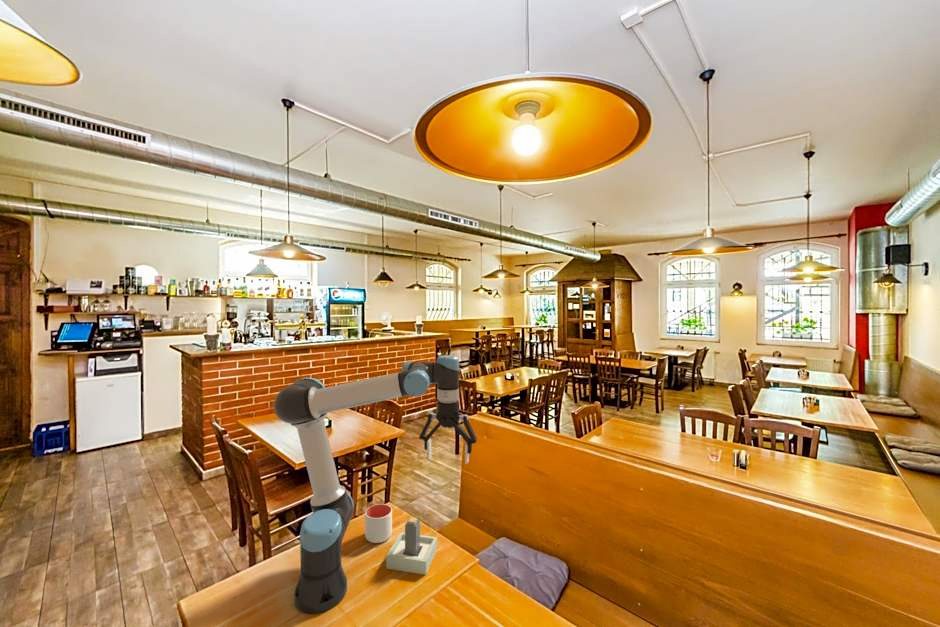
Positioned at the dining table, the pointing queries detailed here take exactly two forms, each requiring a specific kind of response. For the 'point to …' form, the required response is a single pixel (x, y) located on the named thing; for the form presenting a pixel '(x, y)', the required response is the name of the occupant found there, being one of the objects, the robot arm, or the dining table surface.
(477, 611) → the dining table surface
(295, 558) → the dining table surface
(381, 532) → the cup
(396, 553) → the walled box
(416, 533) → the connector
